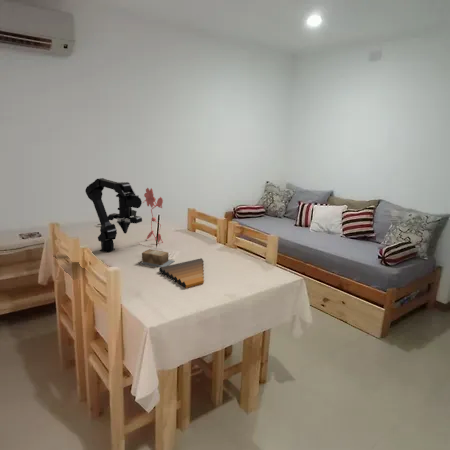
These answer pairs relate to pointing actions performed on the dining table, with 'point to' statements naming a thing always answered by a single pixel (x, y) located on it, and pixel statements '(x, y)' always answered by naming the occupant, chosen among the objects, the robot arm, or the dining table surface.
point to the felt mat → (159, 265)
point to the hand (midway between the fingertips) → (125, 233)
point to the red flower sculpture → (151, 200)
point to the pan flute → (185, 272)
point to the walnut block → (155, 257)
